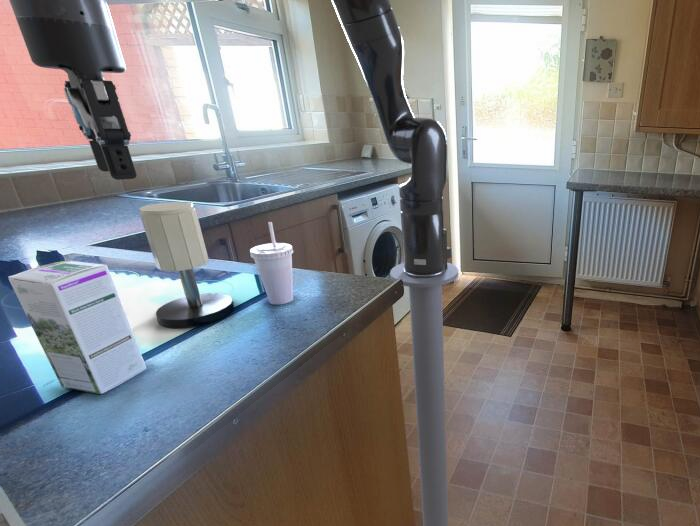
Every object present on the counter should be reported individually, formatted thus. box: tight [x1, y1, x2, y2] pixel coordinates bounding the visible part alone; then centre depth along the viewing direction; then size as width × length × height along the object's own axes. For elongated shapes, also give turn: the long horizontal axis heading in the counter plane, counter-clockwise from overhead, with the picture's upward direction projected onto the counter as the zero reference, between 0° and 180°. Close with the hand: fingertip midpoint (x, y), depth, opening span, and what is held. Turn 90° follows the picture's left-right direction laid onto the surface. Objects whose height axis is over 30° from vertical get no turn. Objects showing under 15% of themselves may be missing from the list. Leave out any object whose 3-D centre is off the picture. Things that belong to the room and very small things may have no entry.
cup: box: [139, 201, 210, 272], centre depth 61 cm, size 6×6×9 cm
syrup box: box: [7, 260, 147, 395], centre depth 47 cm, size 6×6×14 cm
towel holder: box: [155, 269, 235, 329], centre depth 63 cm, size 10×10×17 cm
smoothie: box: [249, 221, 294, 306], centre depth 70 cm, size 6×6×14 cm
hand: (117, 174), depth 50 cm, fingers open, 8 cm apart
